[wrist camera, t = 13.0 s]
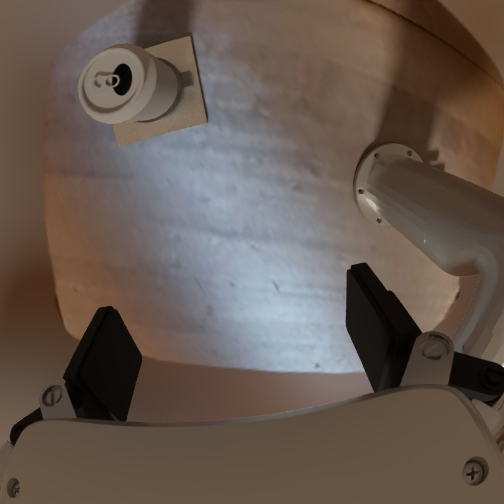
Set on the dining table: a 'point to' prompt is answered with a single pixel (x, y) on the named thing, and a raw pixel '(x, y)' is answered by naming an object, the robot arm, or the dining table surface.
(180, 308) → the dining table surface
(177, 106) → the white flat square plate
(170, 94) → the can
